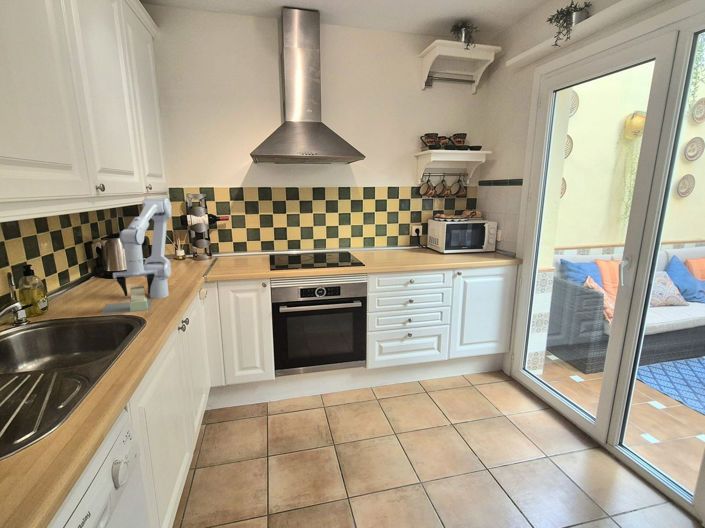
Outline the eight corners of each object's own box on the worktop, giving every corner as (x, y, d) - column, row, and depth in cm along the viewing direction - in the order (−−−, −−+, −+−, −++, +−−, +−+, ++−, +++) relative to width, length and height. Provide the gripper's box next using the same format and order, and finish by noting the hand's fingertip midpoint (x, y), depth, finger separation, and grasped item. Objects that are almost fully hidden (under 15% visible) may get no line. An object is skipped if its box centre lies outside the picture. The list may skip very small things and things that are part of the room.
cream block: (132, 299, 137) (131, 287, 136) (145, 297, 139) (144, 285, 139) (131, 302, 134) (130, 289, 133) (144, 300, 136) (143, 288, 135)
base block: (131, 307, 138) (130, 299, 138) (147, 305, 141) (146, 297, 140) (130, 311, 134) (129, 302, 133) (147, 309, 136) (146, 301, 136)
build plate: (106, 305, 142) (106, 304, 141) (151, 300, 149) (151, 299, 149) (101, 317, 129) (101, 315, 129) (150, 311, 136) (150, 309, 136)
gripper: (110, 263, 127) (114, 299, 129) (155, 260, 134) (158, 294, 136) (112, 260, 133) (116, 294, 135) (156, 257, 140) (158, 290, 142)
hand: (137, 294), depth 136 cm, fingers open, 7 cm apart
